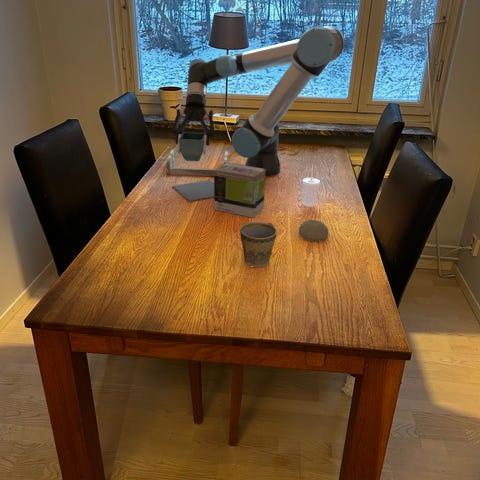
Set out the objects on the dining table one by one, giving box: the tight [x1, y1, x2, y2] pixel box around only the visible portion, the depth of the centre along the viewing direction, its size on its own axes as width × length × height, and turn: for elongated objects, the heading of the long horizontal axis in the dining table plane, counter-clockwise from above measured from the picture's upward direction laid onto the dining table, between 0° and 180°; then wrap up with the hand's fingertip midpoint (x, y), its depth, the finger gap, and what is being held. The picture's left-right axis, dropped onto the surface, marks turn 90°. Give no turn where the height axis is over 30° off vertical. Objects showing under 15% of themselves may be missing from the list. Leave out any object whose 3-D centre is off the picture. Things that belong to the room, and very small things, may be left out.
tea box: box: [213, 162, 266, 219], centre depth 158 cm, size 15×10×15 cm
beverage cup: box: [301, 166, 321, 207], centre depth 164 cm, size 6×6×14 cm
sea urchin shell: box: [298, 219, 329, 242], centre depth 144 cm, size 9×8×8 cm
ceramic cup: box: [239, 221, 278, 268], centre depth 129 cm, size 13×10×10 cm
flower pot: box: [179, 131, 206, 162], centre depth 172 cm, size 9×9×9 cm
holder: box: [166, 148, 229, 177], centre depth 196 cm, size 16×24×6 cm, turn 89°
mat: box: [171, 179, 214, 203], centre depth 175 cm, size 16×16×1 cm
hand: (191, 152), depth 170 cm, fingers closed on flower pot, 9 cm apart
